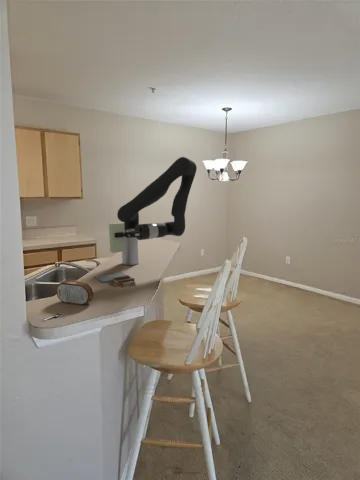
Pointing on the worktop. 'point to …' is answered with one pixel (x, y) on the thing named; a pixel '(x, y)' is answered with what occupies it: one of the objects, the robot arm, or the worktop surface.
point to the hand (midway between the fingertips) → (113, 234)
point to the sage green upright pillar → (116, 243)
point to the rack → (120, 280)
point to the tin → (74, 292)
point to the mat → (107, 277)
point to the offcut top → (128, 283)
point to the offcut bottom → (129, 286)
